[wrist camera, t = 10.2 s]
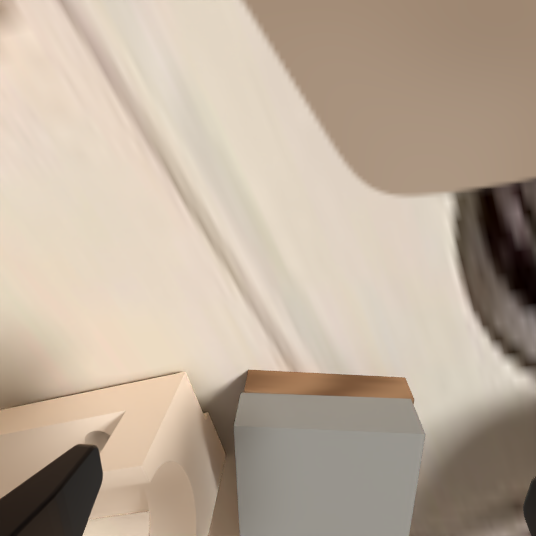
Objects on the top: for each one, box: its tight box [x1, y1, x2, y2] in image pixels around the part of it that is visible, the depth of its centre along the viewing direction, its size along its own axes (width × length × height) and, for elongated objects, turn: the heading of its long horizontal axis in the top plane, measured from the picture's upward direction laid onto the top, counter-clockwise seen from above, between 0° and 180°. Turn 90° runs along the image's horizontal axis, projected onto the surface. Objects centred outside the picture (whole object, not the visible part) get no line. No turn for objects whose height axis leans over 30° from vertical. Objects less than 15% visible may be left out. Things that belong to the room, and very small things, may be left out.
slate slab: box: [234, 393, 425, 536], centre depth 22 cm, size 9×14×2 cm, turn 1°
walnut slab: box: [244, 370, 414, 404], centre depth 25 cm, size 9×14×2 cm, turn 0°
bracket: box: [0, 372, 226, 536], centre depth 22 cm, size 13×7×8 cm, turn 106°
